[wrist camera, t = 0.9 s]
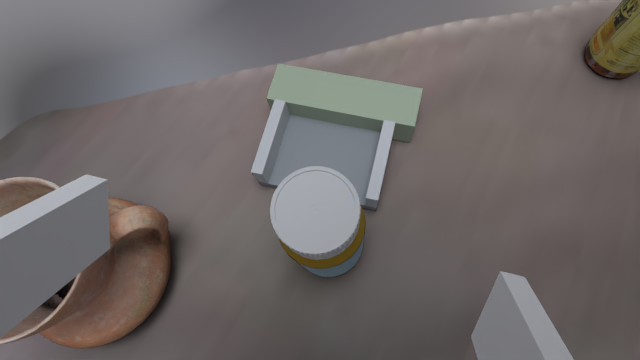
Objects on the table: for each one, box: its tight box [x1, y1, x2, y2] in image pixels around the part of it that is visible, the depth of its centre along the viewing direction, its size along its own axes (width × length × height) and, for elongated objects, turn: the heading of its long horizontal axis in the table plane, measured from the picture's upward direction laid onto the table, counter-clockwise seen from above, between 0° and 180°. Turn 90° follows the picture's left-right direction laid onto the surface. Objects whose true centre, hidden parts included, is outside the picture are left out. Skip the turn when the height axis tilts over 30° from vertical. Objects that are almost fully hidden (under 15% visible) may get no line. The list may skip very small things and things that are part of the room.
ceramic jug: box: [0, 177, 171, 348], centre depth 34 cm, size 18×14×14 cm
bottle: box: [270, 166, 365, 277], centre depth 33 cm, size 7×7×15 cm
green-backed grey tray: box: [251, 64, 422, 211], centre depth 41 cm, size 16×13×4 cm
